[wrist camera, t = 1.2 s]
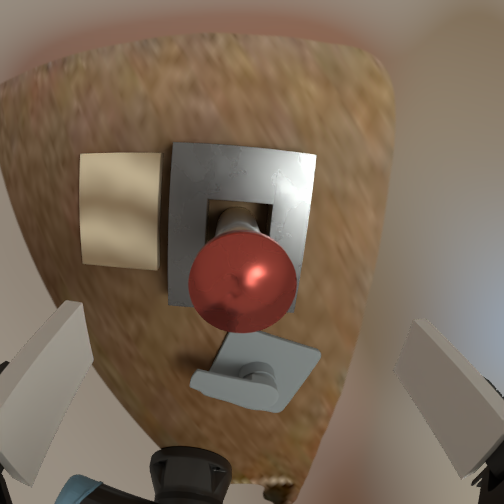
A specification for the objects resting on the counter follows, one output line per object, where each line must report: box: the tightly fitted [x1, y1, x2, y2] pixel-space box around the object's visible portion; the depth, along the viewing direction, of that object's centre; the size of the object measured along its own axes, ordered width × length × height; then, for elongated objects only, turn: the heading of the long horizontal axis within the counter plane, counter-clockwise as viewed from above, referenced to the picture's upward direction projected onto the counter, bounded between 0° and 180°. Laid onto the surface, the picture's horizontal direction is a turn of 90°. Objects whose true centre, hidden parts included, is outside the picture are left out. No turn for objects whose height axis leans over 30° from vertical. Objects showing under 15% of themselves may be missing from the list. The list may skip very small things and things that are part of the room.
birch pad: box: [79, 153, 163, 270], centre depth 28 cm, size 12×9×1 cm
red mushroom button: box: [188, 207, 297, 333], centre depth 23 cm, size 6×6×15 cm
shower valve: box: [190, 331, 321, 413], centre depth 34 cm, size 12×6×15 cm
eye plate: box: [168, 142, 316, 313], centre depth 29 cm, size 16×13×3 cm
